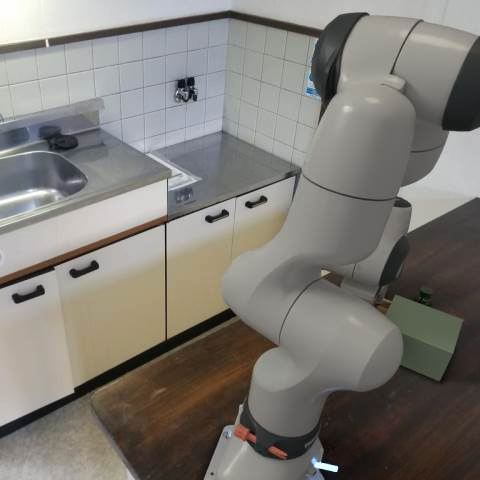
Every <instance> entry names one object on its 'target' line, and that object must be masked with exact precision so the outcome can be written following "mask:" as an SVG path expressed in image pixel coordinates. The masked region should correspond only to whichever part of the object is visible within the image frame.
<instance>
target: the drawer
mask: <svg viewBox="0 0 480 480" xmlns="http://www.w3.org/2000/svg"><path fill="white" fill-rule="evenodd" d="M377 297H378V295H377V296H376V298H375V299H374V301H372V302H370V304H371V305H372V306H373V307H376V306H375V305H376V304H375V303H376V300H377ZM391 302H392V300H390V299H387V298H385V297H384V298H383V300H382V303H381V304H380V306H381V307H384V308H387V309H388V308H389V306H390V304H391Z"/></svg>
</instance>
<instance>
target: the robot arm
mask: <svg viewBox="0 0 480 480" xmlns="http://www.w3.org/2000/svg"><path fill="white" fill-rule="evenodd" d="M310 77H311V80H312V84H313V86H314V89H315V92H316V93H317V95H318V96H319V97H320V101H321V105H322V107H323V109H324V110H325V111H324V113H323V115H322V116H321V118H320V121H319V123H318V125H317V127H316V129H315V132H314V135H313V137H312V139H311V142H310V145H309V147H308V150H307V153H306V156H305V159H304V162H303V165H302V169H301V173H300V176H299V179H298V182H297V185H296V190H295V193H294V196H293V198H292V201H291V204H290V207H289V210H288V213H287V216H286V218H285V220H284V223H283V225H282V227H281V228H280V230H279V231H278V232H277V234H276V235H275V236H274V237H273V238H272V239H271V240H270V241H269V242H267V243H266V244H264V245H262V246H260V247H256V248H251V249H249V250H246V251H244V252H242V253H240V254H239V255H238V256H236V257H235V258H234V259H233V260H232V261H231V262H230V263H229V264H228V266H227V268H226V269H225V271H224V274H223V277H222V280H221V297H222V301H223V302H224V304H225V305H226V306H227V307H228V308H229V309H230V310H231V311H232V312H233V313H234V314H235V315H236V316H237V317H238V318H239V319H240V320H241V321H242V323H244V324H245V325H246V326H248V327H249V328H251V329H253V330H254V331H256V332H257V333H258V334H260V335H261V336H263V337H265V338H266V339H267V340H269V341H271V342H272V343H274V344H275V345H277V347H273V348H271V349H268V350H266V351H265V352H263V353H262V354H261V355H260V356H259V358H258V359H257V360H256V362H255V363H254V365H253V368H252V374H251V381H250V385H249V389H248V391H247V394H246V396H245V398H244V401H243V403H242V404H241V403H240V404H239V405H238V406H239V407H238V414H237V416H236V419H235V422H234V424H229V425H228V424H227V425H226V426H224V427H223V429H222V432H221V434H220V437H219V438H218V439H219V440H218V442H217V445H216V447H215V450H214V451H213V455H212V457H211V460H210V462H209V465H208V468H207V470H206V472H205V475H204V478H203V480H326V479H325V478H324V476H323V474H322V472H321V471H320V469H322V470H326V471H331V472H335V473H336V472H338V469H339V467H338V466H337V465H332V464H329V463H323V462H322V459H323V456H324V448H323V444H322V442H321V440H320V438H319V434H320V431H321V428H322V422H323V409H324V407H325V404H326V401H327V400H328V397H329V396H330V395H331V394H332V393H336V392H339V391H340V392H341V391H349V392H356V393H364V392H369V391H372V390H375V389H378V388H380V387H382V386H383V385H385V384H386V383H387V382H389V381H390V380H391V379H392V378H393V377H394V375H395V374H396V373H397V371H398V370H399V368H400V366H401V365H400V363H401V360H402V356H403V338H402V334H401V331H400V328H399V327H398V326H397V325H396V324H394V323H393V322H392V321H391V320H390V319H388V318H387V317H386V316H385V315H384V314H382V313H381V312H380V311H378V310H377V308H376V306H374V307H373V306H372V305H371V304H370V302H372V301H374V299H375V298H376V296H377V295H378V294H379V292H380V291H381V290H382V289H383V288H384V287H385V286H387V285H389V286H390V285H391V284H392V283H394V282H397V281H398V280H399V279H400V277H401V276H402V273H403V271H404V268H405V262H406V258H407V257H408V254H409V253H410V251H411V245H410V241H409V239H408V233H409V229H410V225H411V219H412V214H413V205H412V203H410V202H409V201H408V200H407V199H405V198H403V197H401V196H398V195H399V192H400V189H401V188H403V187H407V186H410V185H412V184H415V183H417V182H419V181H421V180H423V179H424V178H425V177H427V176H428V175H430V173H432V171H433V170H434V169H435V167H436V165H437V163H438V161H439V159H440V157H441V155H442V153H443V150H444V148H445V146H446V143H447V140H448V136H449V134H450V132H457V133H458V132H459V133H460V132H461V133H462V132H463V133H467V132H468V133H469V132H473V131H475V130H478V129H480V35H478V34H475V33H472V32H469V31H466V30H462V29H458V28H455V27H453V26H448V25H443V24H440V23H439V24H438V23H433V22H428V21H425V20H424V19H421V18H415V17H408V16H396V15H377V14H375V15H372V14H370V13H369V12H367V11H357V12H355V11H354V12H346V13H341V14H338V15H337V16H336V17H334V18H333V19H332V20H331V21H330V22H328V23H327V24H326V26H325V27H324V28H323V29H322V31H321V33H320V35H319V37H318V39H317V41H316V44H315V47H314V50H313V54H312V58H311V64H310ZM322 271H325V272H329V273H331V274H335V275H338V276H340V277H343V278H342V281H341V282H340V287H339V286H338V285H336V284H334V283H332V282H330V281H329V280H327V279H326V278H324V277H323V275H322Z"/></svg>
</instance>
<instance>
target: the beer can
mask: <svg viewBox="0 0 480 480" xmlns="http://www.w3.org/2000/svg"><path fill="white" fill-rule="evenodd" d="M433 294H434V290H433V288H431V287H429V286H421V287H420V289H419V291H418V293H417V296H416V298H415V302H417V303H420V304H422V305H425V306H428V307H429V304H430V302H431V300H432V297H433Z"/></svg>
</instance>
